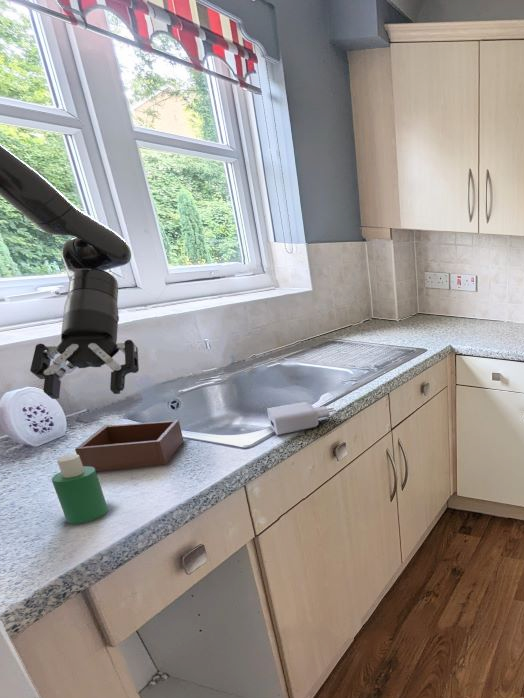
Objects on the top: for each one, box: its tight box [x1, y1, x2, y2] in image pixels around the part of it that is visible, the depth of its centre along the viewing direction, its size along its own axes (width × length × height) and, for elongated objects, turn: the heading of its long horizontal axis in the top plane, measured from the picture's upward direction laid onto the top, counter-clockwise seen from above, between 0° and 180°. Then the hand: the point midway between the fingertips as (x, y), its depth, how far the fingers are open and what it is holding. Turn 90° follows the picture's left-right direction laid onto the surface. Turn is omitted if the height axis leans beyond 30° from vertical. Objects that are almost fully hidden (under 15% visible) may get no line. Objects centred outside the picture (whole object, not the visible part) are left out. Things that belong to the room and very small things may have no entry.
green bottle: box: [51, 453, 109, 525], centre depth 76 cm, size 5×5×11 cm
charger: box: [266, 401, 337, 436], centre depth 116 cm, size 5×9×15 cm
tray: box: [74, 419, 185, 472], centre depth 96 cm, size 14×12×5 cm
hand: (84, 394), depth 81 cm, fingers open, 8 cm apart
